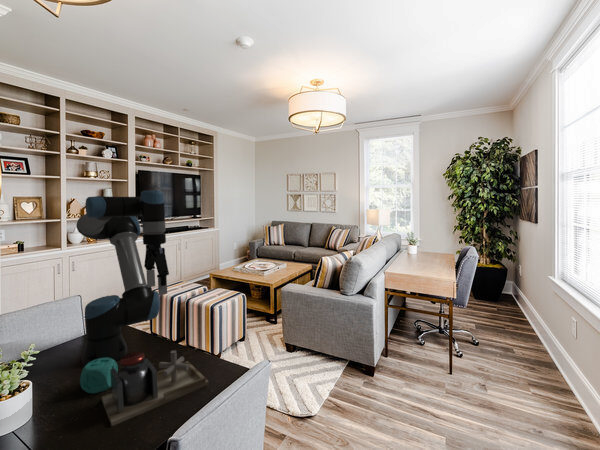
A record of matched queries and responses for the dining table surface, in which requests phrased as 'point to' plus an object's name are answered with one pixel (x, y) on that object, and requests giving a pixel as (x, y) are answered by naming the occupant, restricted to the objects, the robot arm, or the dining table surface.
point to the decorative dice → (97, 375)
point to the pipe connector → (173, 366)
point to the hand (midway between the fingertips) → (156, 290)
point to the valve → (133, 381)
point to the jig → (166, 393)
